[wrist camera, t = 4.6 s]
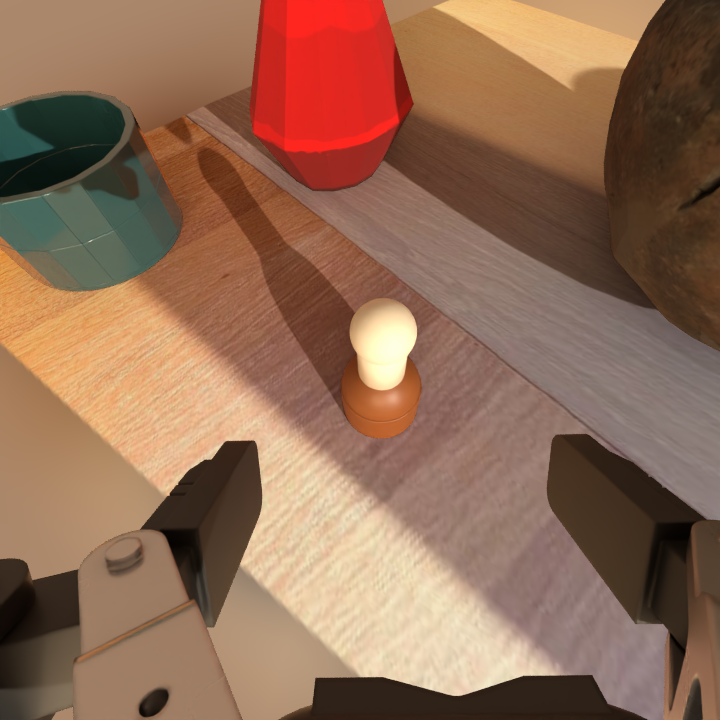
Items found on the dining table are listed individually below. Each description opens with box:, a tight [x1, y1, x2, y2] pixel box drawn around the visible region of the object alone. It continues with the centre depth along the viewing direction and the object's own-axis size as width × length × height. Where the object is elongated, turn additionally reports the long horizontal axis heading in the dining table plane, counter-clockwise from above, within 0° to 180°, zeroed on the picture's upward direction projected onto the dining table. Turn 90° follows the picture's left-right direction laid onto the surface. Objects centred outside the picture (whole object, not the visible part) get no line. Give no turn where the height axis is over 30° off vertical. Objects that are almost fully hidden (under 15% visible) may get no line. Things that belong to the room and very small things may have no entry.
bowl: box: [0, 91, 182, 291], centre depth 33 cm, size 14×15×9 cm
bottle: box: [250, 0, 413, 191], centre depth 33 cm, size 16×14×20 cm
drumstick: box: [341, 298, 422, 438], centre depth 23 cm, size 5×5×11 cm
